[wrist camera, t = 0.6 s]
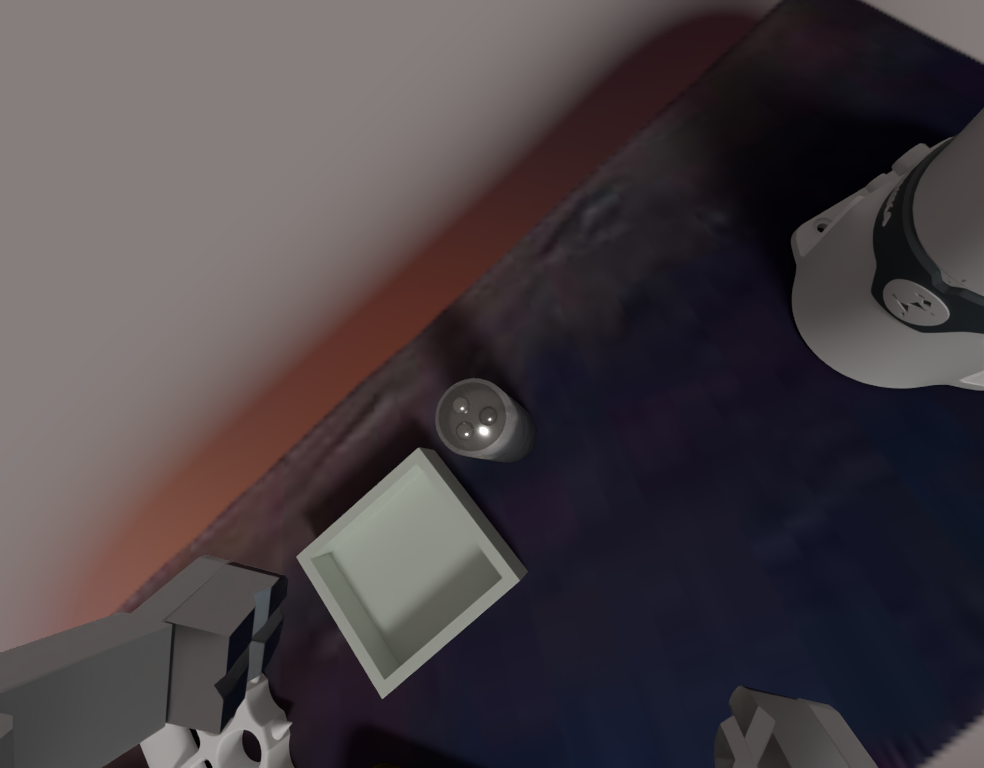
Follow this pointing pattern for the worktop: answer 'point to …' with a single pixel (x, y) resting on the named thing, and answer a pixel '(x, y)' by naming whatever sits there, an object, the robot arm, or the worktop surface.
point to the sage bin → (409, 568)
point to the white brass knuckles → (227, 737)
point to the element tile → (385, 765)
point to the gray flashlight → (484, 422)
